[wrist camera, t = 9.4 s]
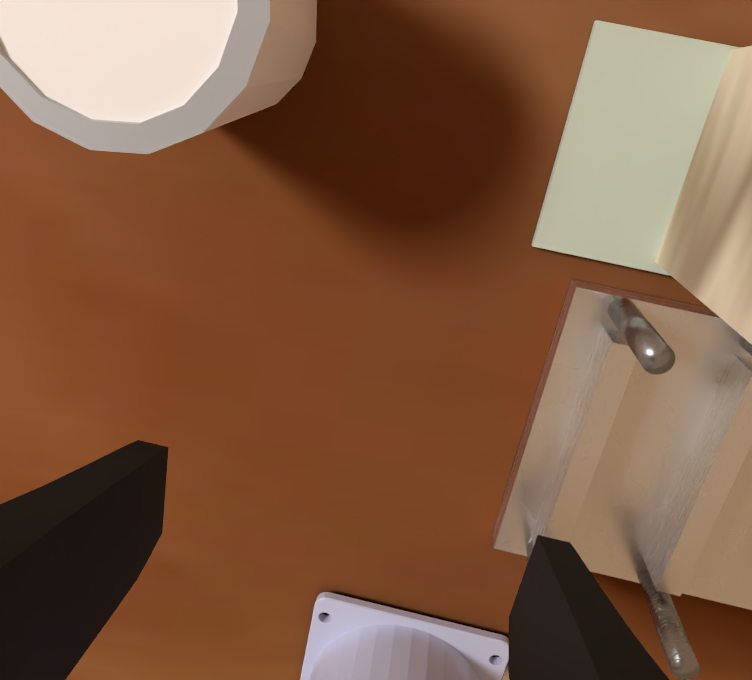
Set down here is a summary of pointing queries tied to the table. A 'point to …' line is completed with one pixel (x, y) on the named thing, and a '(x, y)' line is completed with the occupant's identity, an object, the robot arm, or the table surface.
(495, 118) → the table surface
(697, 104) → the mat
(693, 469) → the rack
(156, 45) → the white cylinder
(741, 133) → the birch block
